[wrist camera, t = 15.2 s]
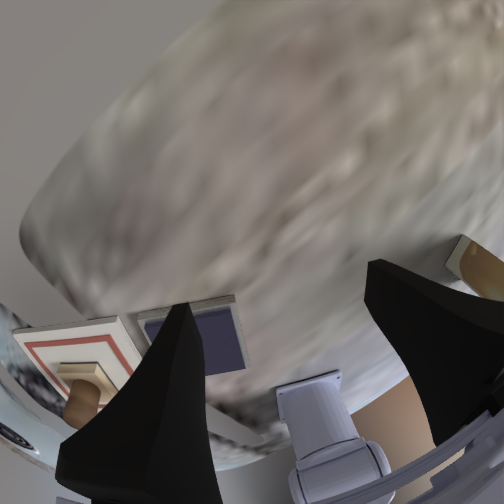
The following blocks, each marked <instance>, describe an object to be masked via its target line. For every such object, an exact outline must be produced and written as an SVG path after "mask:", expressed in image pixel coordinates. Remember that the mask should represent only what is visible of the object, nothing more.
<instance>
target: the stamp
mask: <svg viewBox="0 0 504 504" xmlns="http://www.w3.org/2000/svg"><path fill="white" fill-rule="evenodd" d="M57 374H58V376H59V377H60V378H61V379H62V380H63V382H64V383H65V384H66V385H67V386H68V388H69V389H70V393H69V396H68V400H67V404H66V407H65V411H64V415H63V420H64V421H65V422H66V423H67V424H68V425H69V426H71V427H73V428H75V429H77V430H80V429H81V428H82V427H83V426H84V425H86V424H87V423H88V422H89V421H90V420H91V419H92V418H93V417H95V416H96V415H97V411H98V406H99V402H109V401H110V400H111V399H112V398H113V397H114V396H115V395H116V394H117V392H118V391H119V390H118V389H117V387H116V386H115V385H114V383H113V382H112V381H111V379H110V378H109V377H108V375H107V374H106V372H105V371H104V370H103V368H102V367H101V365H100V364H99V362H98V361H95V362H60V365H59V367H58V370H57Z"/></svg>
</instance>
